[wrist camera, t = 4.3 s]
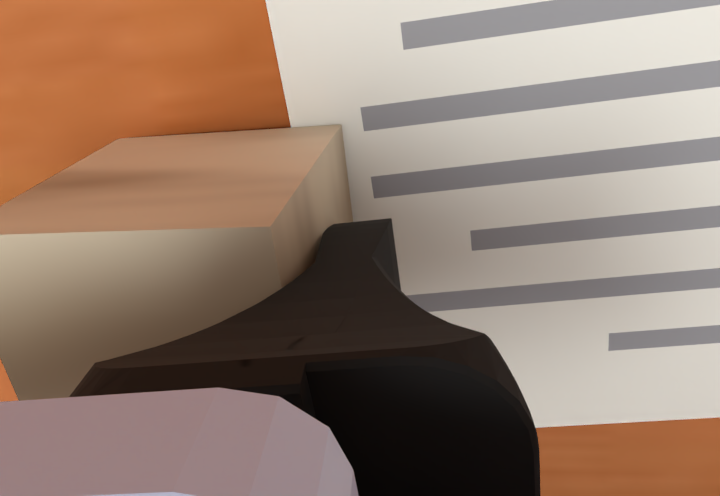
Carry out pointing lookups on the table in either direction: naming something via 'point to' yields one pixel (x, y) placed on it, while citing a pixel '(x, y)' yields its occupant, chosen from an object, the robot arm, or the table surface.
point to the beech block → (158, 244)
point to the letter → (538, 181)
